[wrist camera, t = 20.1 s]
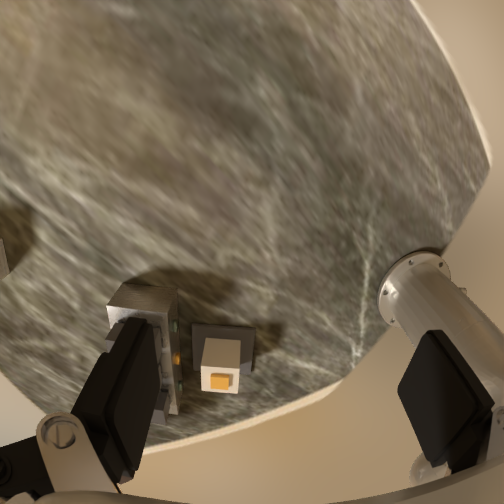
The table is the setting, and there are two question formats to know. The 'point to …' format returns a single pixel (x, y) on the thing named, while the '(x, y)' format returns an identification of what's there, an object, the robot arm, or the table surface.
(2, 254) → the light bulb box
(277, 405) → the table surface
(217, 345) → the cap
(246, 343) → the pad
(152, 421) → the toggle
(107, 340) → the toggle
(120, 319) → the breaker console
